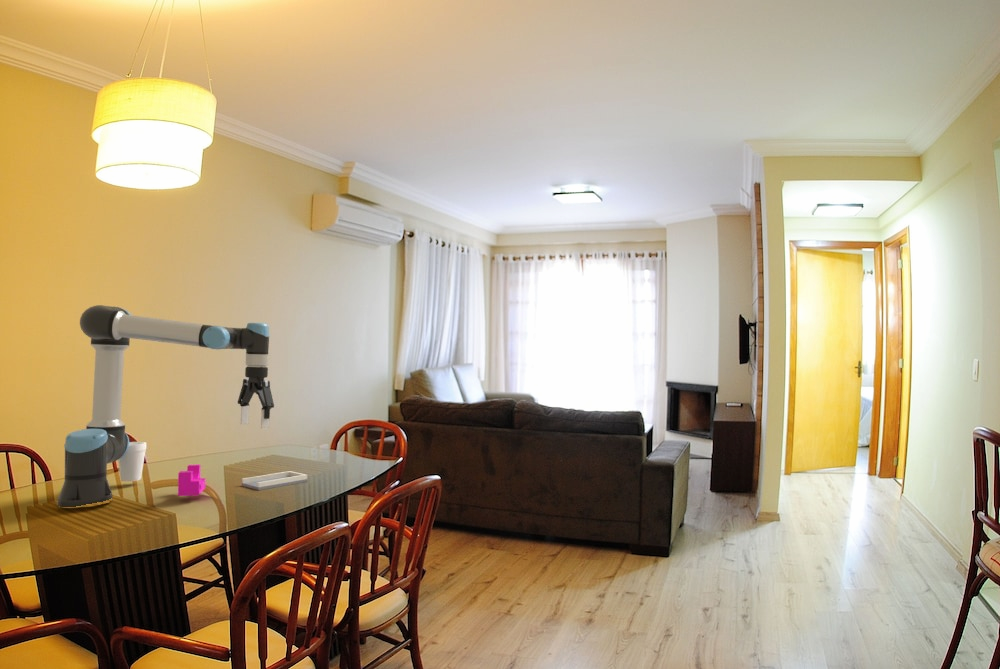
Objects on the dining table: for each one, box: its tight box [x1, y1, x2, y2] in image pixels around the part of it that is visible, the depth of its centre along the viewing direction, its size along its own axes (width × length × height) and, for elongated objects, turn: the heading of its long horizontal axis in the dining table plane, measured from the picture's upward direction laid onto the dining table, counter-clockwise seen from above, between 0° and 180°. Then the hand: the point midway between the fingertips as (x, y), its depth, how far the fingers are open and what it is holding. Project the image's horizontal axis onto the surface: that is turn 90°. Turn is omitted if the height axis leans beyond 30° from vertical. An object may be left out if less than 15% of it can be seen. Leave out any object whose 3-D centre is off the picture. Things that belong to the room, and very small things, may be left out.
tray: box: [241, 470, 308, 491], centre depth 238 cm, size 19×11×2 cm, turn 140°
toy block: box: [177, 464, 206, 497], centre depth 227 cm, size 15×6×8 cm, turn 13°
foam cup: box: [117, 441, 147, 482], centre depth 244 cm, size 10×9×13 cm
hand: (254, 426), depth 239 cm, fingers open, 13 cm apart
